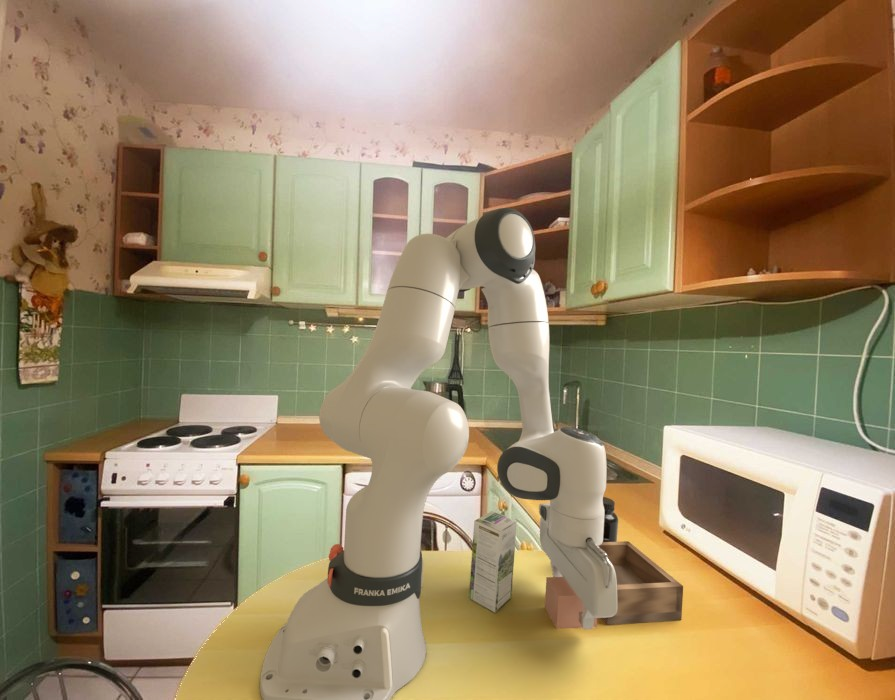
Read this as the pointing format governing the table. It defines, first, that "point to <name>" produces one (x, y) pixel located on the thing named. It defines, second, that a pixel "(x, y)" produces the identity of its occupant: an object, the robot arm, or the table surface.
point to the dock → (642, 587)
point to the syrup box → (492, 560)
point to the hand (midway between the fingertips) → (571, 605)
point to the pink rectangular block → (563, 604)
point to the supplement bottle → (610, 521)
